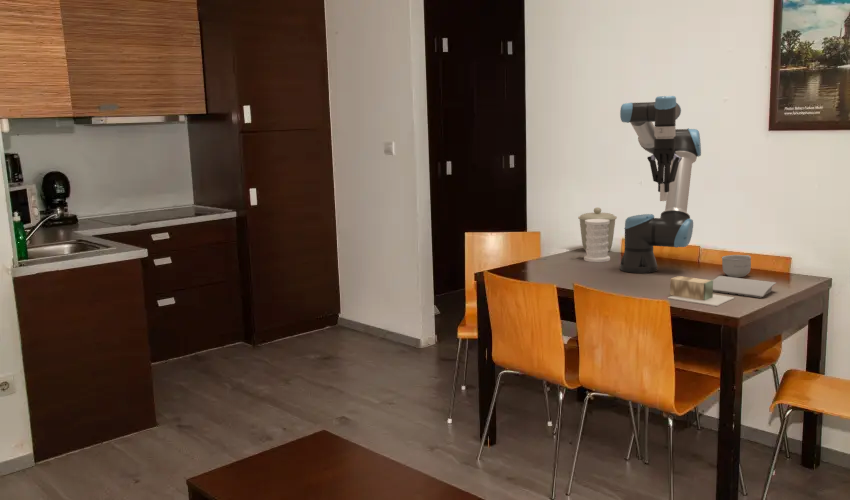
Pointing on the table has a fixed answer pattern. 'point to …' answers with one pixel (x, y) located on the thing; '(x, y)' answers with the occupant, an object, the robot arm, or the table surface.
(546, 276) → the table surface
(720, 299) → the grey mat
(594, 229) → the decorative container
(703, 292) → the maple block
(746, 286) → the book
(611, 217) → the canister
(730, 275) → the teacup
